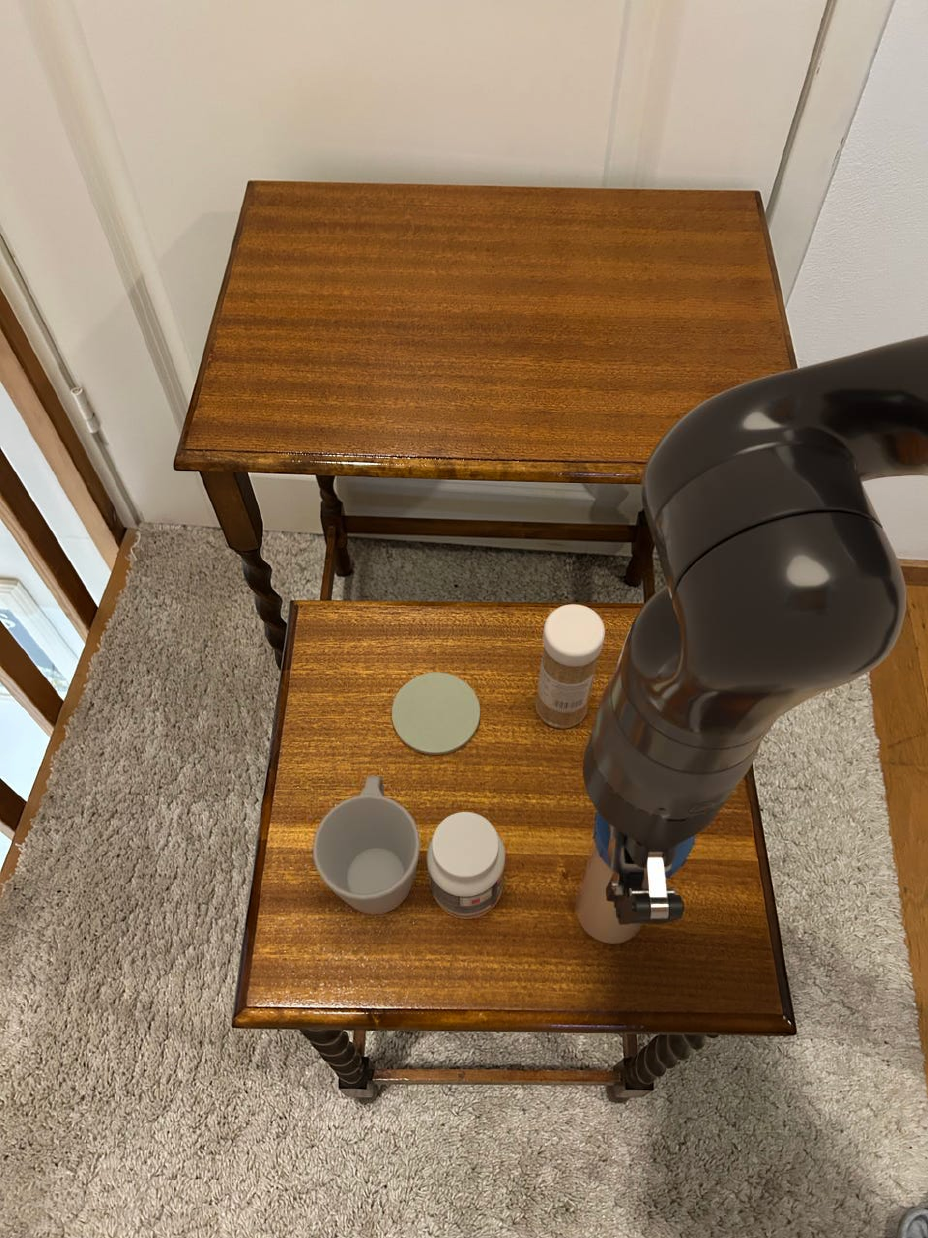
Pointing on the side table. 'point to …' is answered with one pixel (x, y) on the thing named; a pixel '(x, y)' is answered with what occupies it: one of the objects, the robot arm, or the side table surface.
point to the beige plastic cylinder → (600, 904)
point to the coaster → (436, 713)
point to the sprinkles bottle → (568, 664)
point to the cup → (368, 850)
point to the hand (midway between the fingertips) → (618, 847)
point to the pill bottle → (466, 865)
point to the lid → (603, 840)
